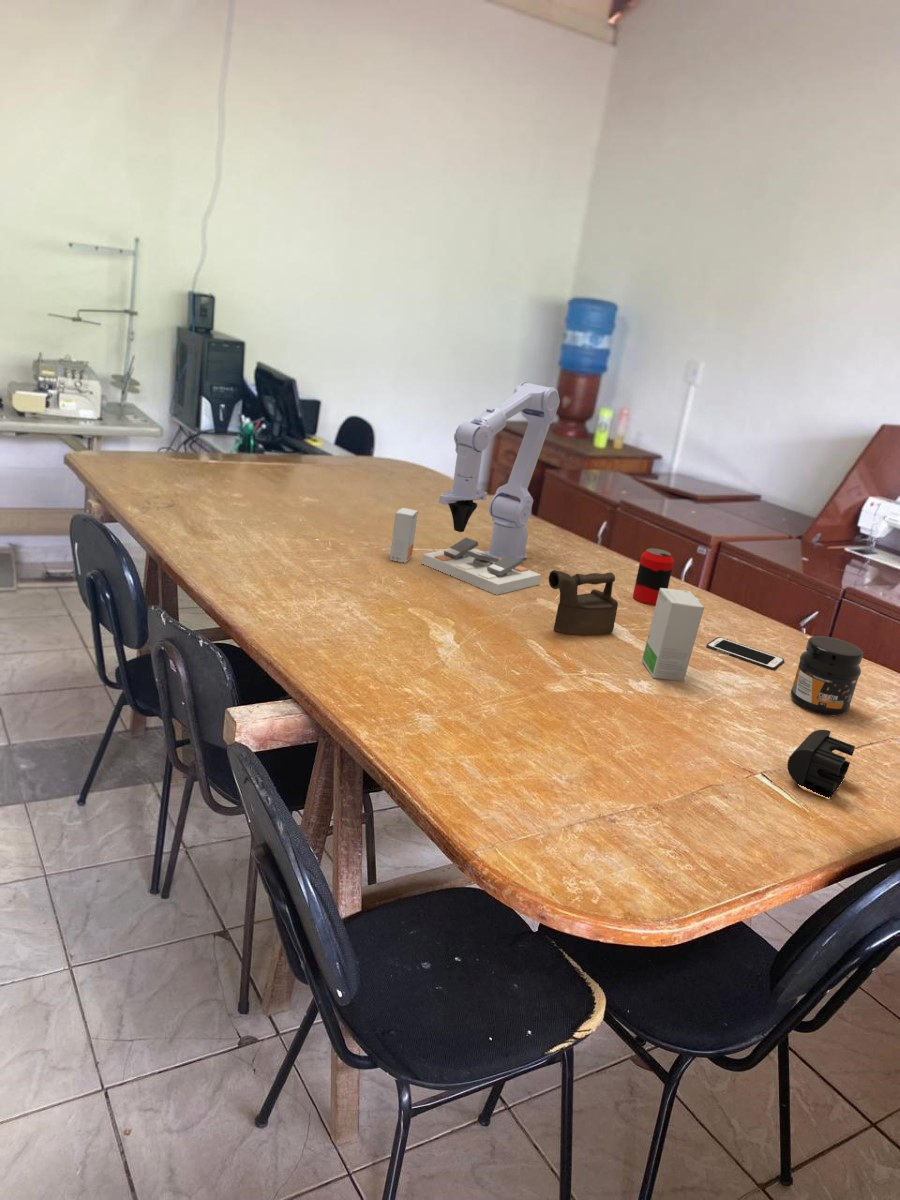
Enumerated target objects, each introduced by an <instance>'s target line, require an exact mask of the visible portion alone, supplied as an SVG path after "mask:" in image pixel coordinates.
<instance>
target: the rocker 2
mask: <svg viewBox="0 0 900 1200" xmlns="http://www.w3.org/2000/svg"><path fill="white" fill-rule="evenodd" d="M466 555H468V556H471V557H473V558H476V559H479V560H485V561H491V562H497V561H499V559H498V558H496V557H493V556H491V555H488V554H484V553H478V552H474V551H470V550H467V551H466Z"/></svg>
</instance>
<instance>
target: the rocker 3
mask: <svg viewBox="0 0 900 1200" xmlns="http://www.w3.org/2000/svg"><path fill="white" fill-rule="evenodd" d="M519 565H520V566H522V565H523V559H519V558H516V557H514V556H511V555H508V556H507V557H505V558H503V559H501V560H499V561H497V562H496V563H494V564H492V565H490V566H488V567H487V571H489V572H491V573H494V574H496V575H499V576H501V575H503V574H505V573H507V572H508V571H510V570H512V569H514V568H516V567H517V566H519Z"/></svg>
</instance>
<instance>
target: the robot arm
mask: <svg viewBox="0 0 900 1200" xmlns="http://www.w3.org/2000/svg"><path fill="white" fill-rule="evenodd" d="M560 402H561V400H560V395H559V392H558V390H557V388H556V387H549V386H544V385H540V384H535V383H530V382H528V381H522V382H521V383H519V385H516V386H515V387H514V391H513V393H512V395H511V396H510V397H508V398H507V399H506V400H505V401H504V402H502V404H501V405H499V406H498V407H495V406H493V407H492V406H488V407H487V408H486V410H485V411H484V412H482V413H481V414H480V415H478V416H476V417H475V418H473V420H471V421H469V422H468V421H464V422H462V423H460V424H459V425H458V426H457V428H456V430H455V433H454V434H453V440H454V444H455V453H456V459H455V460H456V461H455V467H454V475H453V482H452V489H449V491H448V492H446V493H444V494H440V495H439V499H438V504H441V505H444V506H445V505H446V506H447V505H448V507H449V509H450V512H451V517H452V523H453V531H455V532H457V533H463V532H465V529H466V527H467V525H468V522H469V519H470V518H471V516H472V515H473V513H474V512H475V510H476V509H477V507H478V503H477V502H474V501H480V500H481V501H486V500H487V497H488V491H484V490H482V489H481V490H478V484H479V477H480V470H481V462H482V456H483V451H484V450H486V449H487V448H488V446H489V444H490V441H492V440H493V439H492V438H493V437H494V436H495V435H496V434H498V433H499V432H501V431H502V430H503V429H504V428H505V427H506V426H507V421H508V420H509V419H511V418H513V417H514V416H516V415H517V414H519V413H521V415H522V417H523V418H525V420H526V422H527V426H526V429H525V432H524V435H523V437H522V441H521V443H520V447H519V449H518V451H517V455H516V458H515V461H514V464H513V466H512V469H511V472H510V475H509V477H508V481H507V483H504V484H503V485H501V486H500V487H498V488H497V489H496V491H495V493H494V496H492V498H491V499H490V502H489V505H488V514H489V515H490V517H491V521H492V522H493V525H492V526H493V527H492V530H491V531H492V533H491V539H490V546H489V550H484V551H483V552H485V553H486V554H489V555H491V556H494V557H499V558H501V559H503V558H505V557H507V556H508V555H511V556H514V557H516V558H519V559H522V560H523V559H527V558H528V555H526V549H527V543H528V539H529V531H528V527H527V526H526V524H527V523H528V522H529V520H530V519H531V517H532V508H533V504H534V499H533V496H532V495H531V493H530V492H529V490H528V488H529V486H530V483H531V481H532V478H533V474H534V471H535V469H536V466H537V463H538V460H539V457H540V455H541V452H542V449H543V446H544V443H545V440H546V437H547V435H548V432H549V429H550V427H551V426H550V425H552V424H553V423H554V420H555V417H556V414H557V411H558V410H559V406H560Z"/></svg>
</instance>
